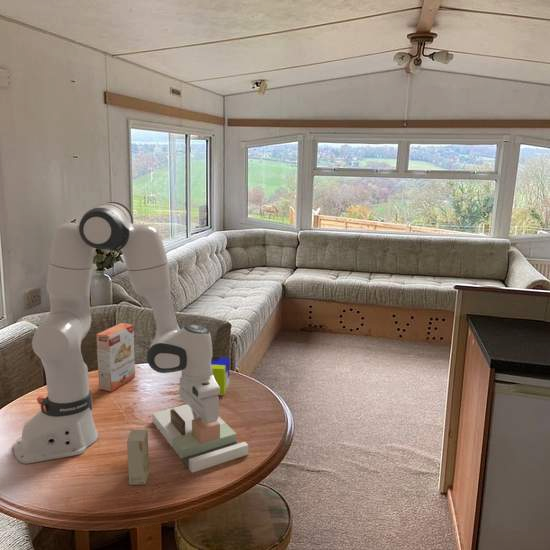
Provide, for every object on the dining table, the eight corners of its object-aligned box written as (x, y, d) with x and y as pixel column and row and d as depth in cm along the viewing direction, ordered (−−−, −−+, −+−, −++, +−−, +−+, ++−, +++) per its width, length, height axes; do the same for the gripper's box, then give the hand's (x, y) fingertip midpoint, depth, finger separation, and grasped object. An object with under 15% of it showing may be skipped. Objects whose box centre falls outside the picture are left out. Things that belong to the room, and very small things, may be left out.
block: (200, 443, 146) (200, 429, 145) (192, 434, 151) (191, 420, 150) (220, 438, 149) (219, 423, 148) (210, 428, 154) (210, 414, 153)
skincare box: (146, 485, 133) (144, 441, 130) (128, 485, 132) (126, 442, 130) (149, 470, 139) (148, 428, 136) (133, 470, 139) (131, 428, 136)
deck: (192, 472, 138) (191, 462, 137) (152, 421, 164) (152, 413, 163) (248, 454, 147) (248, 444, 146) (202, 408, 172) (202, 400, 172)
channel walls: (182, 435, 150) (181, 422, 149) (170, 421, 158) (170, 409, 157) (216, 425, 156) (216, 413, 155) (204, 412, 163) (204, 401, 163)
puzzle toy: (229, 383, 192) (229, 358, 189) (224, 395, 182) (223, 369, 180) (202, 382, 192) (202, 356, 190) (195, 394, 183) (195, 367, 180)
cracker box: (112, 392, 183) (109, 336, 178) (98, 389, 185) (94, 333, 180) (136, 377, 195) (134, 324, 190) (123, 374, 197) (120, 322, 193)
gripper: (173, 369, 158) (174, 411, 161) (201, 396, 141) (202, 442, 144) (192, 365, 161) (193, 406, 164) (222, 390, 144) (223, 435, 147)
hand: (198, 423), depth 154 cm, fingers closed
